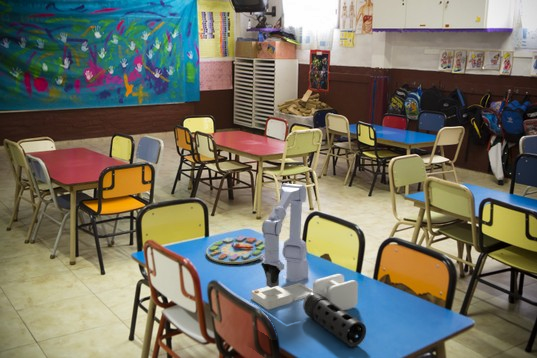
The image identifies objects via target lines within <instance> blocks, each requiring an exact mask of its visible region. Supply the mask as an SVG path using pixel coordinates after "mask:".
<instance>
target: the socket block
mask: <svg viewBox="0 0 537 358" xmlns="http://www.w3.org/2000/svg"><path fill="white" fill-rule="evenodd" d="M250 292H251V293H250V294H251V296H250V298H251V301H254V302H255V303H257V304H259V305H260V306H262V307H263V308H265V309H266V310H272V309H274V308H278V307H281V306H284V305H288V304H291V303H293V300H292V294H291V293H289V292H288V291H286V290H284V289H283V287H281V286H275V287H272V288H270V287H268V286H265V287H261V288H258V289H253V290H251V291H250Z"/></svg>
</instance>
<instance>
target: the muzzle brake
mask: <svg viewBox="0 0 537 358" xmlns="http://www.w3.org/2000/svg"><path fill="white" fill-rule="evenodd" d="M303 299H304V300H303V302H302V308H303V309H302V310H304V314H305V315H306V317H308V318H310V319H311V320H313V321H315V322H317V323H318V324H319V325H321V326H322V327H323V328H324V329H326V331H327V330H328V331H329V332H330V333H331V334H333V335H334V336H335V337H336V338H338V339H339V340H341V341H342V342H343V343H345V344H346V345H347V346H349V347H351V348H352V349H354V348H356V347H357V346H359V345H360V344H361V343H362V342H364V339H365V337H366V335H367V327H366V325H365V324H364V323H363V322H362V321H360V320H358V319H357V317H354V316H353V315H351V314H350V313H348V312H347V311H346V310H342V309H341V308H339V307H338V306H336V305H335V304H333V303H332V302H330V301H329V300H328V299H327V298H326V297H324V296H323V295H321V294H316V293H311V294H309V295H308V296H307V297H306V298H303Z"/></svg>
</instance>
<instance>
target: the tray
mask: <svg viewBox="0 0 537 358" xmlns="http://www.w3.org/2000/svg"><path fill="white" fill-rule="evenodd" d="M282 288H283V289H284V290H286V291H288V292H289V293H291V294H292V301H294V302H296V301H299V300H303V299H305V298H306V297H307V296H308V295H309V294H311V293H313V288H310V287H309V286H306V285H305V284H303V283H301V282H298V283H295V284H294V283H293V284H291V285H287V286H284V287H282Z"/></svg>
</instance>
